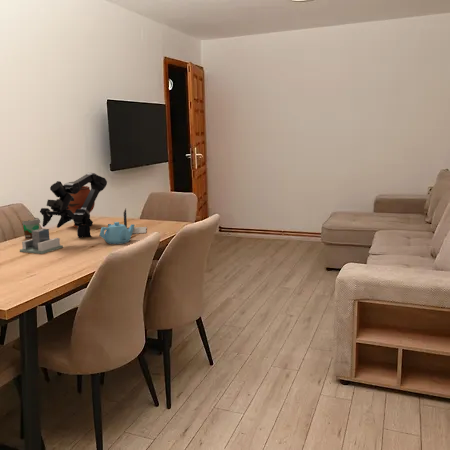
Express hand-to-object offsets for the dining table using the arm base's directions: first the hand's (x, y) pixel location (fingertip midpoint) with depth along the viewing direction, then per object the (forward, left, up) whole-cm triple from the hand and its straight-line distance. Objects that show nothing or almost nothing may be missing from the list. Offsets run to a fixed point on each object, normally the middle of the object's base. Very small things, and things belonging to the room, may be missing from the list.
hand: (50, 227), depth 245 cm
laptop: (-49, -22, -11) cm, 55 cm away
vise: (+5, +5, -10) cm, 12 cm away
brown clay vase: (-20, -52, -10) cm, 57 cm away
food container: (+7, -31, -10) cm, 33 cm away
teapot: (-34, +3, -11) cm, 35 cm away
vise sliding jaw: (+10, +1, -9) cm, 13 cm away
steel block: (+5, +5, -9) cm, 12 cm away
